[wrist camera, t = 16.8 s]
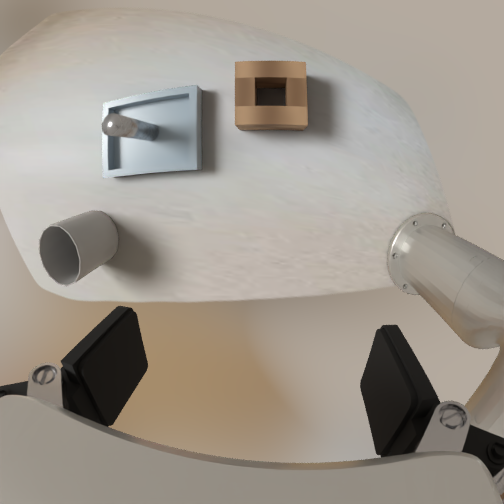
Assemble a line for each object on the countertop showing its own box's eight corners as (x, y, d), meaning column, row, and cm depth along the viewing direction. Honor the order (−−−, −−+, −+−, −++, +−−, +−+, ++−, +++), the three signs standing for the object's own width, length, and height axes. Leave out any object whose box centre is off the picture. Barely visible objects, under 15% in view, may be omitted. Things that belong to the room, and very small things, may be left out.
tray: (201, 90, 31) (197, 85, 28) (202, 169, 34) (196, 169, 32) (112, 105, 32) (103, 103, 29) (112, 176, 35) (102, 178, 33)
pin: (158, 122, 32) (120, 111, 22) (158, 140, 32) (120, 133, 23) (143, 125, 32) (102, 115, 22) (143, 142, 33) (101, 137, 23)
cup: (118, 211, 37) (77, 227, 27) (120, 263, 39) (84, 290, 30) (77, 209, 37) (35, 223, 28) (81, 257, 40) (43, 280, 30)
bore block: (301, 74, 29) (305, 62, 25) (303, 130, 32) (307, 125, 27) (239, 74, 30) (235, 61, 25) (239, 130, 32) (235, 124, 28)
